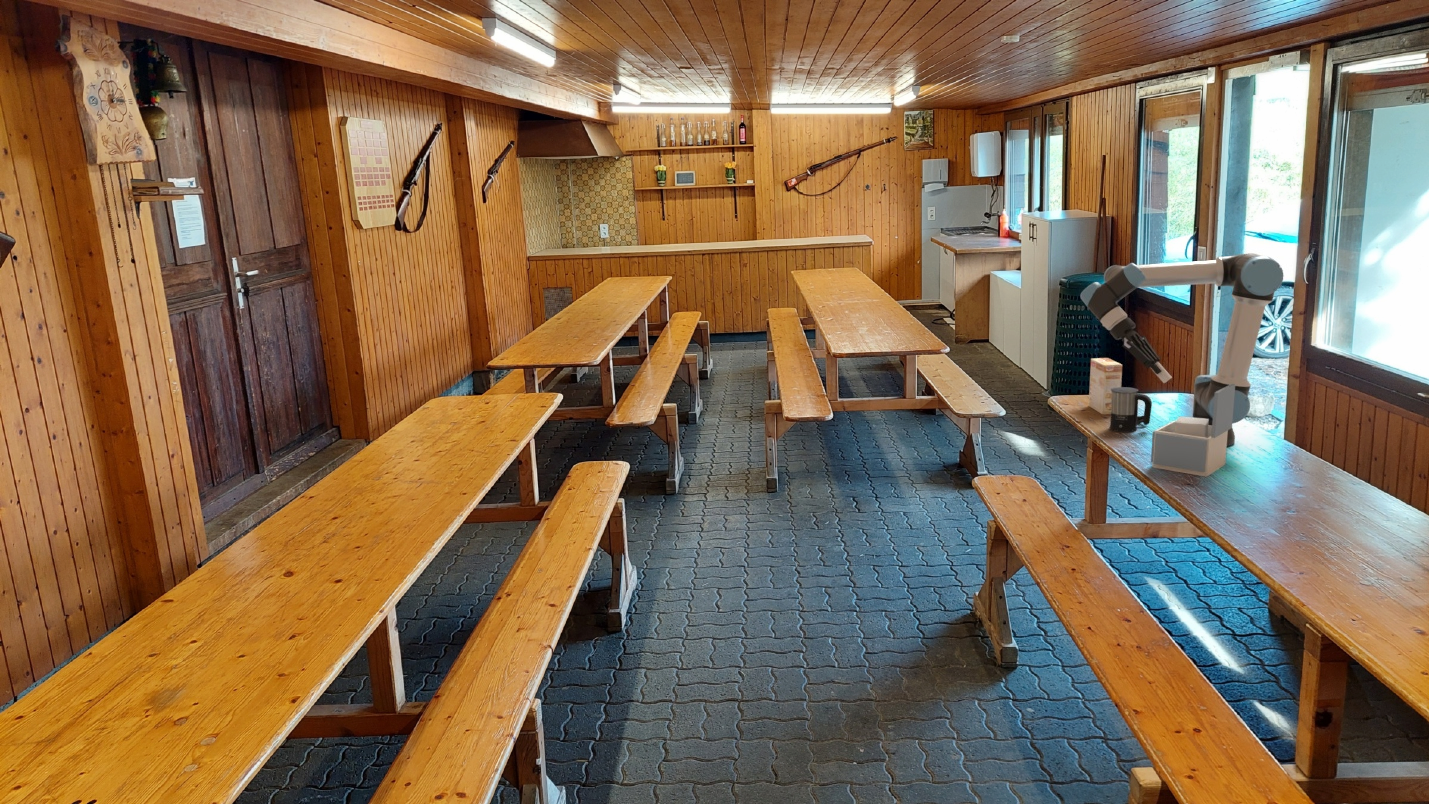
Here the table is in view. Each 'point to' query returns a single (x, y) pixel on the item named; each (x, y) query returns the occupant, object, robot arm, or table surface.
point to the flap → (1223, 410)
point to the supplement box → (1192, 426)
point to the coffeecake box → (1103, 383)
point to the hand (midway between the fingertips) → (1168, 380)
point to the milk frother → (1128, 409)
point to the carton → (1188, 451)
